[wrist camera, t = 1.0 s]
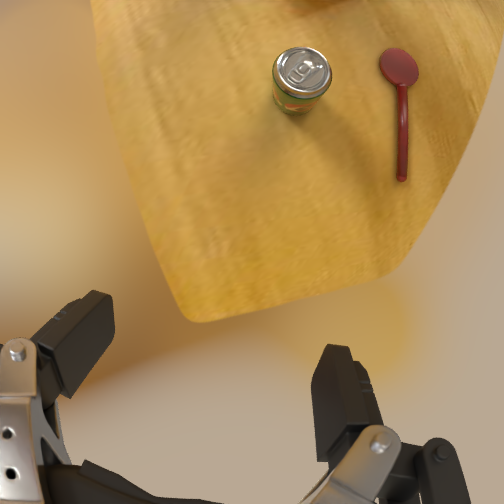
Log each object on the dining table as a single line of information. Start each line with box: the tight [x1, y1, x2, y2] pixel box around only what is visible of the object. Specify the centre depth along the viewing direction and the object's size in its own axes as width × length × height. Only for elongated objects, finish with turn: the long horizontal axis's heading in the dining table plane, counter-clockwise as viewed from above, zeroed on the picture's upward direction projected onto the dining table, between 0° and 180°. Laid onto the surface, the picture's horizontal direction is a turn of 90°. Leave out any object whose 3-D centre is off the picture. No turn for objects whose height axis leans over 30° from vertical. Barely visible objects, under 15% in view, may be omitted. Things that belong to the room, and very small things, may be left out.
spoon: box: [379, 48, 419, 182], centre depth 28 cm, size 18×6×1 cm, turn 0°
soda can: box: [272, 47, 332, 115], centre depth 24 cm, size 5×5×12 cm
